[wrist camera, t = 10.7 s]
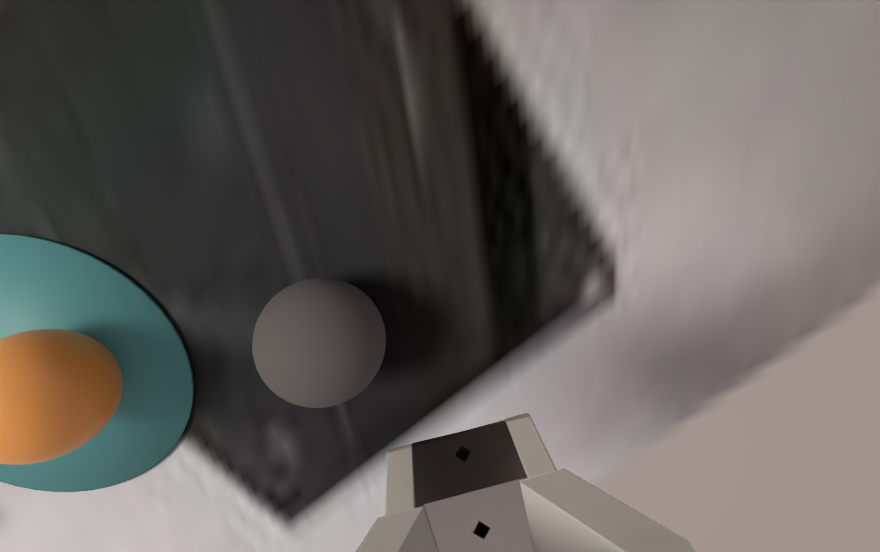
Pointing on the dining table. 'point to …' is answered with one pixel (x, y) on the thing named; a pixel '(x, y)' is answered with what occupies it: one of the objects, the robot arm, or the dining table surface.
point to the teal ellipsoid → (125, 335)
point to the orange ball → (54, 393)
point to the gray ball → (319, 342)
